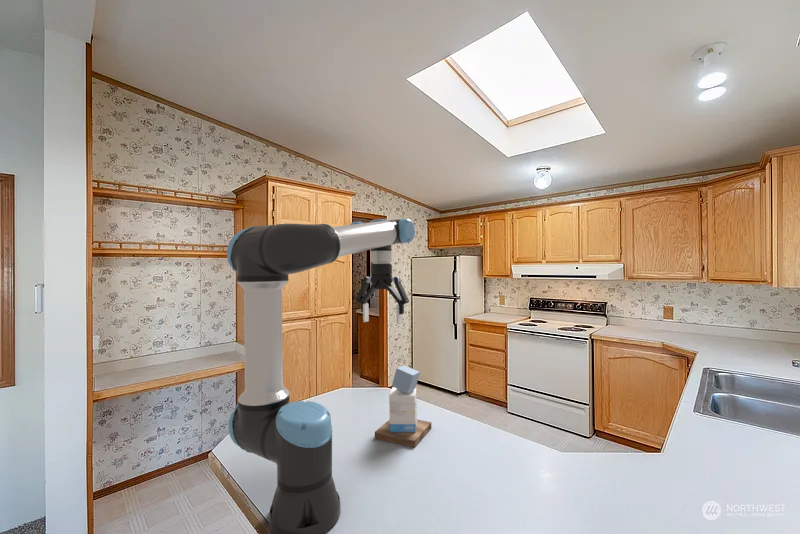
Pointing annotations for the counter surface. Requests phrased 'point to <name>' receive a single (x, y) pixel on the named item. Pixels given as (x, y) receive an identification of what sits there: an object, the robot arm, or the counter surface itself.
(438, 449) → the counter surface
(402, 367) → the cube
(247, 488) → the counter surface
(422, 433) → the board
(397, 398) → the ink box
